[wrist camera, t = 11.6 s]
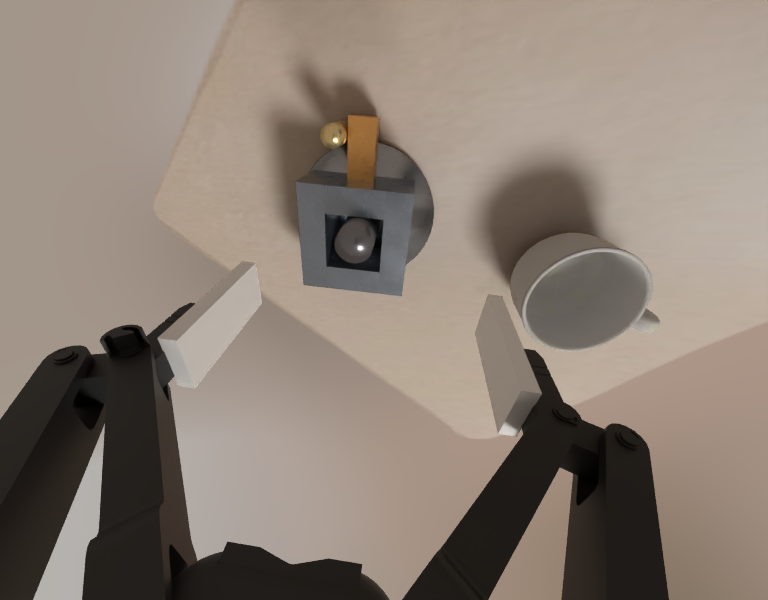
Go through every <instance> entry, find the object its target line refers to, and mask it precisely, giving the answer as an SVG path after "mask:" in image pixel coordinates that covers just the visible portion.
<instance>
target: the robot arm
mask: <svg viewBox="0 0 768 600" xmlns="http://www.w3.org/2000/svg"><path fill="white" fill-rule="evenodd" d="M261 304H262V299H261V293H260V287H259V281H258V274H257V268H256V263H251V262H244V261H242V262H241V263H240V264H239V265H238V266H237V267H236V268H235V269H233V270H232V271H231V272H230V273H229V274H228V275H227V276H226V277H225V278H224V279H222V280H221V281H220V282H219V283H218V284H217V285H216V286H215V287H213V288H212V289H211V290H210V291H209V292H208V293H207V294H206V295H205V296H204V297H202V298H201V299H200V300H199V301H198V302H197V303H196V304H195V303H189V304H187V305H185V306H183V307H181V308H179V309H178V310H177V311H176V312H174V313H173V314H172V315H171V317H168V318H167V319H166V320H165V322H163V323H162V324H160V325H159V326H158V327H157V328H156V329H155V330H153V331H152V332H151V333H150V334H149V335H148V336H146V335H145V333H144V331H143V329H142V327H140V326H138V325H125V326H121V327H117V328H114V329H112V330H110V331H108V332H107V333H105V334H104V335H103V336H102V337H101V339H100V343H101V344H102V346H103V348H104V350H105V351H106V353H105V354H94V355H91V354H90V352H89V350H88V349H87V348H86V347H84V346H70V347H65V348H63V349H59V350H57V351H55V352H53V353H52V354H50V355H48V356H47V357H46V358H45V359H44V360H43V361H42V363H41V364H40V365H39V367H38V368H37V369H36V371H35V372H34V373H33V375H32V376H31V378H30V379H29V381H28V382H27V383H26V385H25V386H24V387H23V389H22V390H21V392H20V393H19V394H18V396H17V397H16V399H15V400H14V401H13V403H12V404H11V405H10V407H9V408H8V410H7V411H6V412H5V414H4V415H3V417H2V418H1V420H0V600H33V598H34V595H35V593H36V591H37V588H38V586H39V583H40V581H41V578H42V576H43V574H44V571H45V569H46V566H47V564H48V561H49V559H50V556H51V554H52V551H53V549H54V547H55V544H56V542H57V539H58V537H59V534H60V532H61V529H62V527H63V524H64V522H65V520H66V517H67V514H68V512H69V510H70V507H71V505H72V502H73V500H74V497H75V495H76V493H77V490H78V488H79V485H80V483H81V480H82V478H83V475H84V473H85V470H86V468H87V466H88V463H89V460H90V458H91V456H92V453H93V451H94V448H95V446H96V444H97V441H98V439H99V436H100V434H101V431H102V429H103V426H104V424H105V434H104V452H103V469H102V486H101V503H100V521H99V532H98V535H97V537H95V538H94V539H92V540H90V542H89V545H88V547H87V552H86V559H85V573H84V584H83V596H82V600H389V598H388V597H387V595H386V594H385V593H384V591H383V590H382V589H381V588H380V587H379V586H378V585H377V584H376V583H375V582H374V581H373V580H372V579H370V578H369V577H367V576H366V575H364V574H362V573H361V569H362V564H357V563H352V562H346V561H339V560H334V559H324V560H318V561H312V562H306V563H300V564H289V563H287V562H285V561H283V560H281V559H280V558H278V557H276V556H274V555H273V554H271V553H269V552H267V551H266V550H264V549H262V548H260V547H255V546H250V545H244V544H238V543H232V542H227V544H226V546H225V549H224V551H223V552H219V553H216V554H213V555H210V556H208V557H205V558H203V559H200V560H199V561H197V558H196V554H195V551H194V548H193V545H192V541H191V536H190V529H189V522H188V514H187V507H186V500H185V493H184V485H183V478H182V472H181V464H180V458H179V449H178V442H177V435H176V428H175V420H174V413H173V406H172V399H171V391H170V387H169V385H168V383H169V382H170V380H171V379H172V378H173V377H174V378H175V380H176V382H177V384H178V386H183V387H189V388H196V387H197V385H198V384H199V383H200V381H201V380H202V379H203V378H204V376H205V375H206V374H207V372H208V371H209V370H210V369H211V367H212V366H213V365H214V364H215V362H216V361H217V360H218V359H219V357H220V356H221V355H222V353H223V352H224V351H225V350H226V348H227V347H228V346H229V344H230V343H231V342H232V341H233V339H234V338H235V337H236V336H237V334H238V333H239V332H240V331H241V329H242V328H243V326H244V325H245V324H246V323H247V322H248V320H249V319H250V318H251V317H252V315H253V314H254V313H255V311H256V310H257V309H258V308H259V306H260V305H261ZM475 335H476V339H477V343H478V348H479V352H480V357H481V361H482V365H483V370H484V374H485V378H486V383H487V387H488V391H489V396H490V400H491V405H492V409H493V413H494V418H495V422H496V426H497V431H498V434H503V435H510V436H517V435H518V433H519V432H520V430H521V428H522V431H523V436H522V437H521V439H520V440H519V441H518V443H517V444H516V445H515V447H514V448H513V450H512V451H511V452H510V454H509V455H508V456H507V458H506V459H505V461H504V462H503V463H502V465H501V466H500V467H499V469H498V470H497V472H496V473H495V474H494V476H493V477H492V479H491V480H490V481H489V483H488V484H487V485H486V487H485V488H484V490H483V491H482V492H481V494H480V495H479V497H478V498H477V499H476V501H475V502H474V503H473V505H472V506H471V508H470V509H469V510H468V512H467V513H466V514H465V516H464V517H463V519H462V520H461V521H460V523H459V524H458V526H457V527H456V528H455V530H454V531H453V533H452V534H451V535H450V537H449V538H448V539H447V541H446V542H445V544H444V545H443V546H442V547H441V549H440V550H439V551H438V552H437V553H436V554H435V555H434V557H433V558H432V560H431V561H430V562H429V564H428V565H427V566H426V568H425V569H424V570H423V572H422V573H421V575H420V576H419V577H418V579H417V580H416V582H415V583H414V584H413V586H412V587H411V588H410V590H409V591H408V593H407V594H406V595H405V597H404V598H403V599H402V600H488V599H489V597H490V595H491V593H492V591H493V589H494V588H495V586H496V584H497V582H498V580H499V578H500V576H501V575H502V573H503V571H504V569H505V567H506V565H507V564H508V562H509V560H510V558H511V556H512V554H513V552H514V551H515V549H516V547H517V545H518V543H519V541H520V540H521V538H522V536H523V534H524V532H525V530H526V528H527V527H528V525H529V523H530V521H531V519H532V518H533V516H534V514H535V512H536V510H537V508H538V506H539V505H540V503H541V501H542V499H543V497H544V495H545V494H546V492H547V490H548V488H549V486H550V484H551V482H552V481H553V479H554V477H555V475H556V473H557V471H558V469H559V468H563V469H565V470H567V471H569V472H571V473H573V482H572V493H571V504H570V514H569V525H568V537H567V547H566V558H565V569H564V580H563V590H562V600H669V597H668V589H667V581H666V574H665V566H664V559H663V551H662V543H661V536H660V529H659V521H658V513H657V505H656V499H655V491H654V483H653V475H652V468H651V460H650V452H649V448H648V446H647V444H646V442H645V441H644V440H643V438H642V437H641V436H640V435H638V434H637V433H636V432H635V431H633V430H632V429H630V428H628V427H626V426H624V425H621V424H610V425H608V426H607V427H606V428H605V429H603V428H600V427H598V426H595V425H593V424H590V423H588V422H585V421H583V420H582V419H581V417H580V415H579V414H578V413H577V411H576V410H575V409H573V408H572V407H571V406H570V405H568V404H566V403H564V402H563V400H562V398H561V396H560V394H559V391H558V389H557V387H556V385H555V383H554V381H553V379H552V377H551V374H550V372H549V370H548V369H547V366H546V364H545V362H544V359H543V358H542V357H541V356H540V355H539V354H538V353H537V352H536V351H535V350H529V349H523V346H522V344H521V341H520V339H519V336H518V334H517V331H516V329H515V327H514V324H513V322H512V319H511V317H510V314H509V312H508V309H507V307H506V305H505V302H504V300H503V297H502V296H497V295H489V294H488V296H487V299H486V302H485V305H484V308H483V311H482V314H481V317H480V320H479V322H478V325H477V328H476V331H475Z"/></svg>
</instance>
